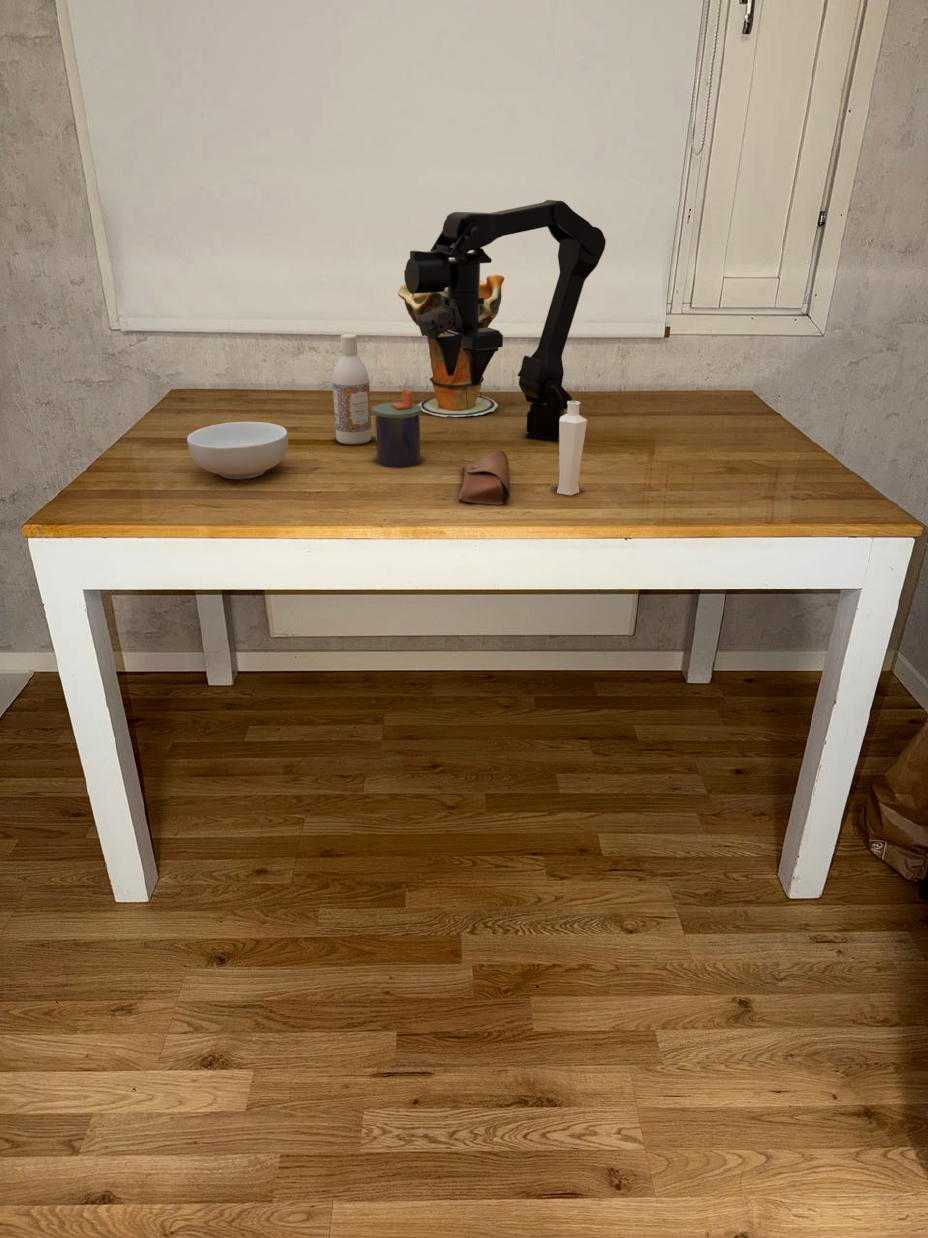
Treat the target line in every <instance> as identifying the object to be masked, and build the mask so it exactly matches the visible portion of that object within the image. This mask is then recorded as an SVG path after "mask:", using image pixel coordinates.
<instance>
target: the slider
mask: <svg viewBox="0 0 928 1238" xmlns="http://www.w3.org/2000/svg"><path fill="white" fill-rule="evenodd" d="M401 402H402V403H395V404H391V406H392V407H394V408H396V409H398V410H399V409H406V408H413V405H412V403H413V392H411V391H410V390H407V389H403V390H402V401H401Z"/></svg>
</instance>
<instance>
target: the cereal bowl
mask: <svg viewBox="0 0 928 1238" xmlns="http://www.w3.org/2000/svg"><path fill="white" fill-rule="evenodd" d="M186 442H187V447H188V451H189V454H190V456H191V458H192V460H193V462H195V464H196V465H198V467H200V468H202V469H203V470H205V471H206V472H209V473H212V474H216V475H219V476H220V477H222V478H225V479H228V480H248V479H254V478H257V477H260V476H262V475H264V473H266V471H268V470H270V469H272V468H274V467H276V466H277V465H278V464H280V463H281V462H282V461H283V460H284V458H285V456H286V455H287V452H288V448H289V432H288V431H287V429H286V428H285V427H283V426H282V425H279V424H276V423H275V424H274V423H271V422H263V421H234V422H226V423H225V422H224V423H218V424H212V425H209V426H205V427H202V428H199V429H196V430H195V431H192V432H191V433H189V434H188V435H187V438H186Z"/></svg>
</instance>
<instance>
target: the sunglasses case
mask: <svg viewBox="0 0 928 1238" xmlns="http://www.w3.org/2000/svg"><path fill="white" fill-rule="evenodd" d="M509 463H510V462H509V458H508V455H507V454H506V452H505V451H504V450H503V449H501V448H500V449H497V450H494V451H492V452H490V453H488V454H487V455H485V456H483V457H482V458H481V459H479V460H476V461H473V462H470V463H467V464H466V465H464V466H463V467H462V471H463V476H462V478H463V479H462V483H461V488H460V491H459V495H458V500H459V501H461V502H463V503H470V504H476V505H491V506H493V505H494V506H502V505H504V504H506V503H507V502H508V500H510V493H511V492H510V488H511V487H510V464H509Z"/></svg>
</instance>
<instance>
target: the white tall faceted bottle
mask: <svg viewBox="0 0 928 1238" xmlns="http://www.w3.org/2000/svg"><path fill="white" fill-rule="evenodd" d="M567 404H568V409H566V410H567V411H566V413H564V415H563V416H561V417H560V420H559V439H558V440H559V441H558V443H559V445H558V447H559V449H558V450H559V453H558V455H559V456H558V457H559V460H558V462H559V467H558V469H559V470H558V471H559V472H558V473H559V479H558V480H559V481H558V482H559V483H558V486H557V490H556V493H557V494H559V495H566V496H573V495H576V494H578V493H580V488H579V487H580V486H579V477H580V470H581V464H582V458H583V451H584V444H585V437H586V431H587V424H588V419H586V418H585V417H584V416H582V415H580V405H581V401H577V400H572V401H568V402H567Z"/></svg>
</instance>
